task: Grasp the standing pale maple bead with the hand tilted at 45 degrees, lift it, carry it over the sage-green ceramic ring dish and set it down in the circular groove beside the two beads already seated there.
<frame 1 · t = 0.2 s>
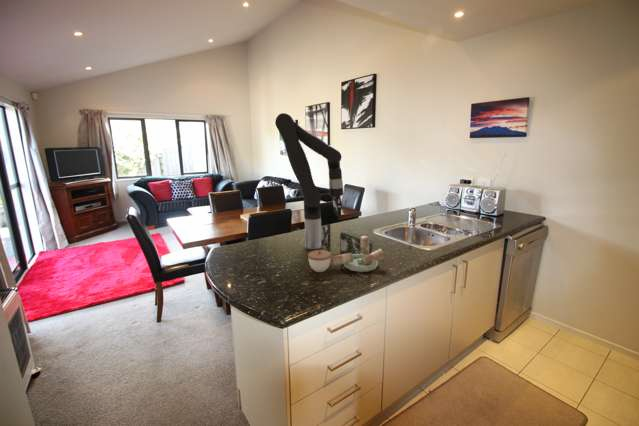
hand: (337, 215, 171), 18 cm above the worktop, tool pointing down, fingers open, 8 cm apart
ring dish: (360, 264, 147), on the worktop
bead b: (351, 256, 143), point 5 cm above the worktop, tilted 100°, touching ring dish, lidded jar
bead c: (363, 262, 143), point 3 cm above the worktop, tilted 66°, touching ring dish
lidded jar: (319, 269, 143), on the worktop, touching bead b
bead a: (364, 255, 159), on the worktop
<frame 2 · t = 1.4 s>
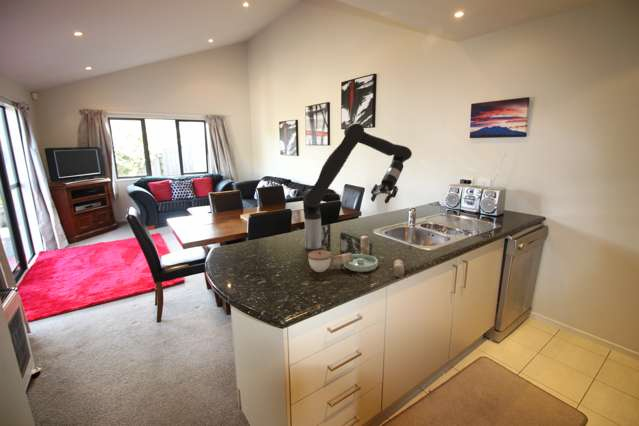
hand: (378, 201, 161), 27 cm above the worktop, tool tilted 45°, fingers open, 8 cm apart
bead c: (399, 272, 132), point 2 cm above the worktop, tilted 90°
everything else where it was.
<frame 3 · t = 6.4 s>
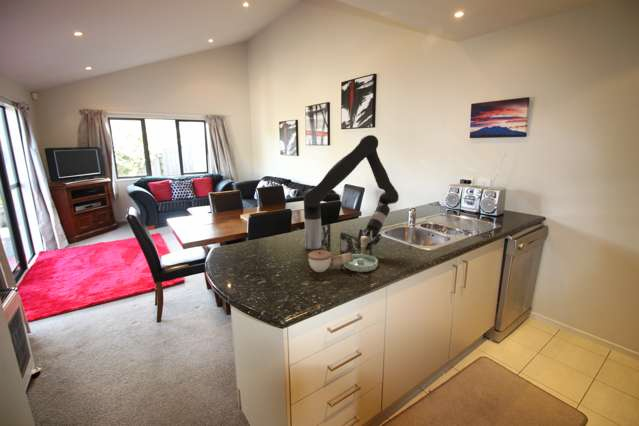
hand: (362, 248, 157), 4 cm above the worktop, tool tilted 45°, fingers closed on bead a, 4 cm apart
bead c: (410, 421, 160), on the floor, tilted 90°
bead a: (364, 255, 159), on the worktop, touching gripper
everything else where it was.
when the fingers open (6 cm above the worktop, at t = 10.4 s): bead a drops 1 cm, resting on ring dish.
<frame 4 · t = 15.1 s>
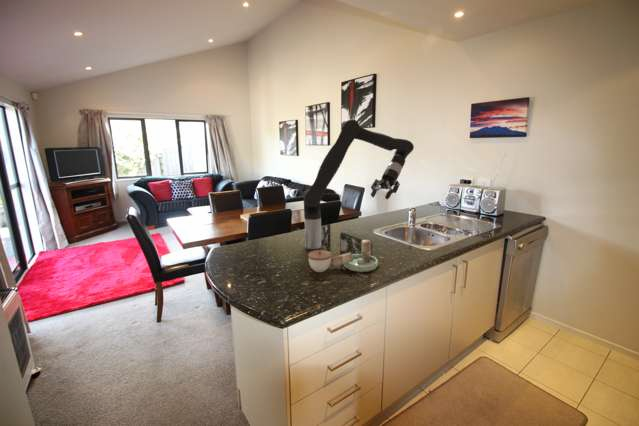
hand: (379, 197, 153), 31 cm above the worktop, tool tilted 45°, fingers open, 8 cm apart
bead c: (429, 414, 164), on the floor, tilted 90°
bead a: (365, 260, 150), point 1 cm above the worktop, touching ring dish
everything else where it was.
at the end: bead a 0.2 cm from the target spot on the ring dish, point 0.8 cm above the ring dish's base; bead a tilted 0°; the gripper is holding nothing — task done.
